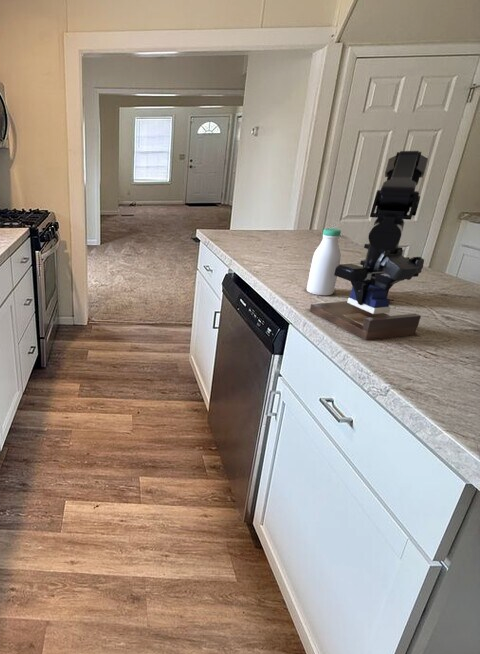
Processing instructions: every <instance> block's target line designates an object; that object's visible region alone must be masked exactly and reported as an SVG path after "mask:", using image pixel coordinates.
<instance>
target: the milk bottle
mask: <svg viewBox="0 0 480 654" xmlns="http://www.w3.org/2000/svg"><path fill="white" fill-rule="evenodd" d="M341 232H342V230H341V229H338V228H324V229H323V232H322V240H321V242H320V244H319V245H318V247H317V248H316V249H315V251H314V253H313V255H312V260H311V264H310V269H309V273H308V279H307V284H306V291H307V292H308V293H310V294H313V295H316V296H331V295H333V293H334V292H335V287H336V283H337V280H338V278H337V277H338V276H335V275H334V273H335V269H336V267H337V266H338V265H340V264H341V257H342V255H341V250H340V246H339V238H340V237H341Z"/></svg>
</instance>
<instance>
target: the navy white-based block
mask: <svg viewBox="0 0 480 654" xmlns="http://www.w3.org/2000/svg"><path fill="white" fill-rule="evenodd" d="M351 286H352V285H351ZM386 294H387V291H386V290H383V289H381V288H378V287H375V286H372V285H370V286H369V287H368V291H367V294H366V297H365V300H364V303H363V305H359V304H358V302H357V299H356V295H355V292H354V289H353V286H352V287H351V291H350V294H349V297H348V298H347V301H348V302H347V303H349V304H352V305H354V306H356V307H358V308H361V309H363V310H365V311H368V312H370V313H372V314H380V313H385V314H389V313H390V310H391V307H390V302H391V299H389V298H388V297H387V298H386Z"/></svg>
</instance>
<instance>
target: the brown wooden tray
mask: <svg viewBox="0 0 480 654" xmlns="http://www.w3.org/2000/svg"><path fill="white" fill-rule="evenodd" d="M347 302H348V300H347V301H346V300H345V301H334V302H321V303H320V302H319V303H311V304H310V308H309V311H310V312H312V313H313V314H315V315H317V316H319V317H321V318H322V319H325V320H326V321H329V322H330V323H332V324H334V325H336V326H338V327H340V328H342V329H343V330H345V331H347V332H349V333H351V334H353V335H355V336H357V337H359V338H361V339H362V340H364V341H369V340H376V339H386V338H387V339H388V338H396V337H397V338H398V337H405V336H416V335H417V330H418V327H419V324H420V321H421V317H422V315H420V314H417V313H407V314H397V315H395V314H394V315H390V314H388V313H380V314H372V313H370V312H368V311H365V310H363V309H361V308H358V307H356V306H354V305H352V304H349V303H347Z"/></svg>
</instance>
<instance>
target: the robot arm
mask: <svg viewBox="0 0 480 654" xmlns="http://www.w3.org/2000/svg"><path fill="white" fill-rule="evenodd" d="M428 161H429V158H428V157H426V156H424V155H422V151H420V150H400V151H397V152H396V155H394V156H392V157H390V158H388V160H387V164H386V167H385V171H384V178H386V180H385V181H383V183H382V186H381V188H380V189H377V190H376V193H375V196H374V199H373V203H372V207H371V210H370V214H369V218H375V220H374V222H373V226H372V227H371V229H370V231H369V233H368V243H364V246H363V249H367V250H366V255H365V259H363V260H360V263H359V265H358V264H354V263H342V264H341V263H340V265H338V266H337V267H336V269H335V273H334V275H335V276H337V277H338V278H340V279H342V280H343V279H344V280H346V281H348V282H350V284H351V286H353V289H354V292H355V295H356V299H357V302H358V304H359V305H363V303H364V300H365V297H366V294H367V291H368V287H369V286H370V285H372V286H375V287H378V288H381V289H383V290H386V291H387V294H386V298H387V299H388V295H389V292H390V290H391V288H392V287H393V286H394V285H395V284H398V283H399V282H401V281H405V280H407V281H411V280H412V278H415V277H417V278H418V277H419V274H421V273H422V269H423V268H424V263H425V259H424V258H422V257H421V256H413V257H409V256H406V257H405V256H404V255H403V252H404V249H403V247H401V246H399V245H400V241H401V238H402V235H403V230H404V227H405V220H412V217H413V216H415V217H416V215H417V211H418V208H419V204H420V200H421V196H420V192H419V191H417V190H416V187H417V186H418V184H419V181H420V178H422V179H423V178H424V175H425V173H426V168H427V165H428ZM408 213H409V214H408Z"/></svg>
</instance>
